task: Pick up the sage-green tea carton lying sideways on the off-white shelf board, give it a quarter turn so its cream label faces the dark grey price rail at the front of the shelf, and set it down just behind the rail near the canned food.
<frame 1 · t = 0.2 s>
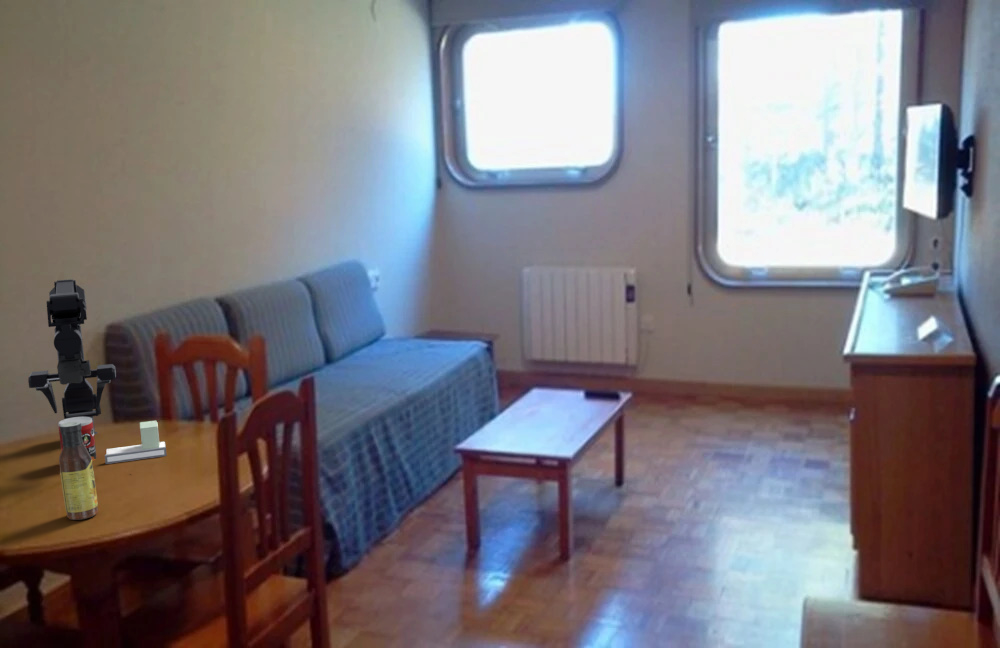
hand: (77, 410, 223), 14 cm above the table, tool pointing down, fingers open, 9 cm apart
sauce bottle: (82, 516, 195), on the table
shelf: (136, 456, 234), on the table
canned food: (80, 464, 230), on the table
tea carton: (150, 447, 238), point 1 cm above the table, touching shelf
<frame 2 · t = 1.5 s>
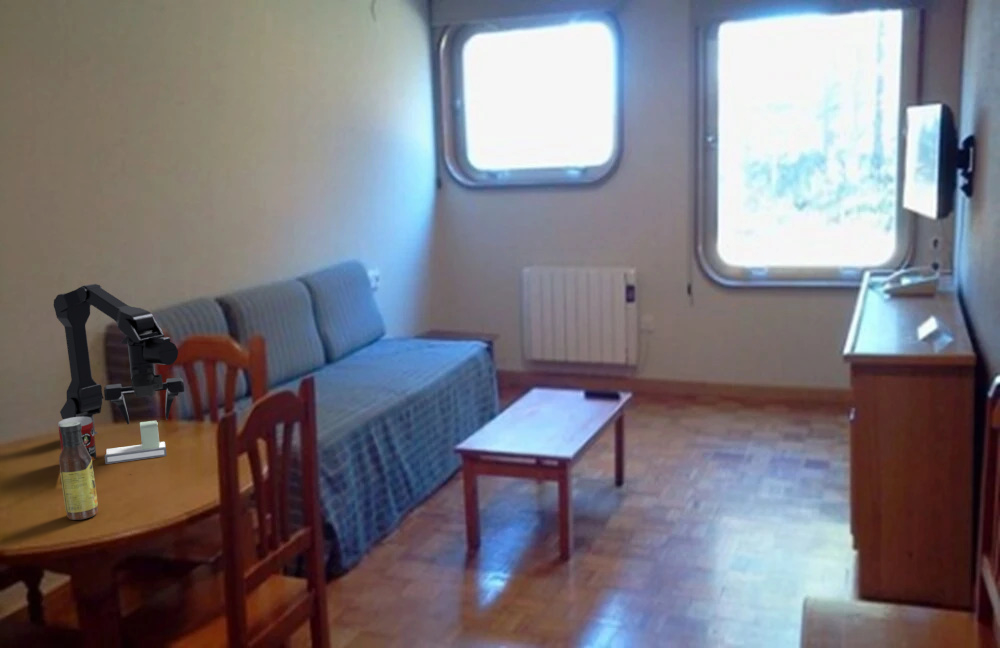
hand: (147, 421, 237), 8 cm above the table, tool pointing down, fingers open, 9 cm apart
nothing on the table moved.
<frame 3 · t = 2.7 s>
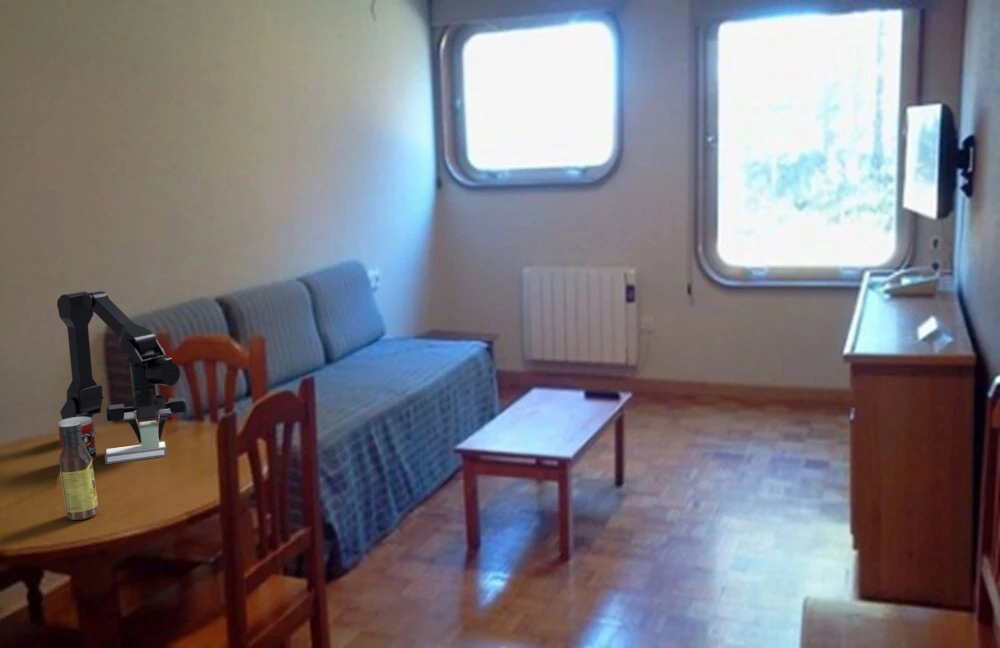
hand: (150, 441, 238), 3 cm above the table, tool pointing down, fingers closed on tea carton, 4 cm apart
tea carton: (150, 447, 238), point 1 cm above the table, touching gripper, shelf
everything else where it was.
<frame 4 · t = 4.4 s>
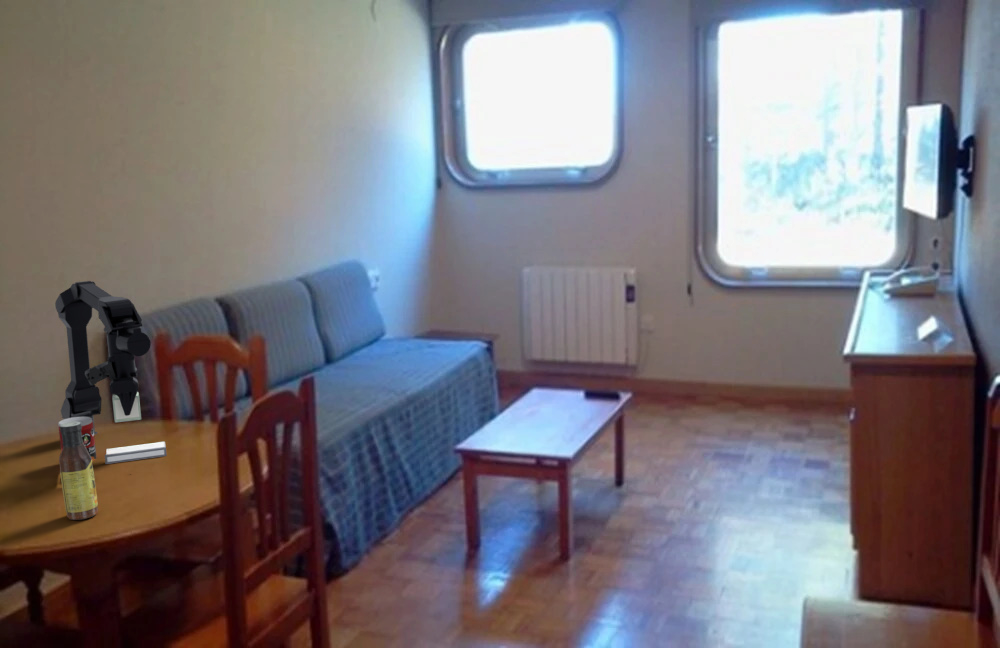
hand: (127, 413, 229), 12 cm above the table, tool pointing down, fingers closed on tea carton, 4 cm apart
tea carton: (128, 418, 229), point 10 cm above the table, touching gripper
everything else where it was.
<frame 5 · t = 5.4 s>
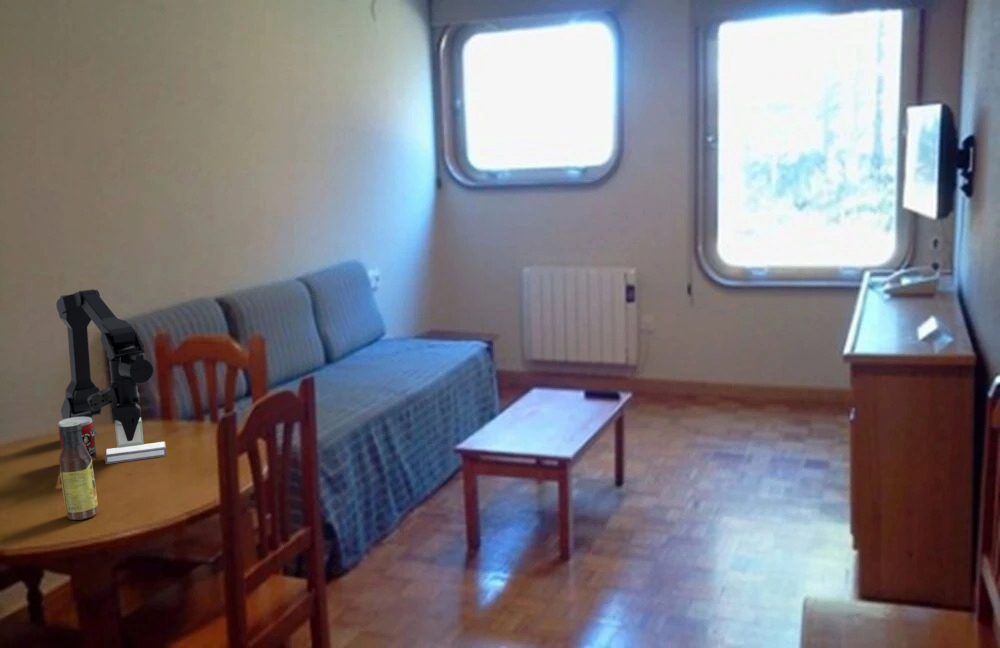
hand: (130, 438, 230), 6 cm above the table, tool pointing down, fingers closed on tea carton, 4 cm apart
tea carton: (130, 444, 231), point 4 cm above the table, touching gripper
everything else where it was.
when the fingers open (4 cm above the table, at t = 6.1 s): tea carton drops 1 cm, resting on shelf.
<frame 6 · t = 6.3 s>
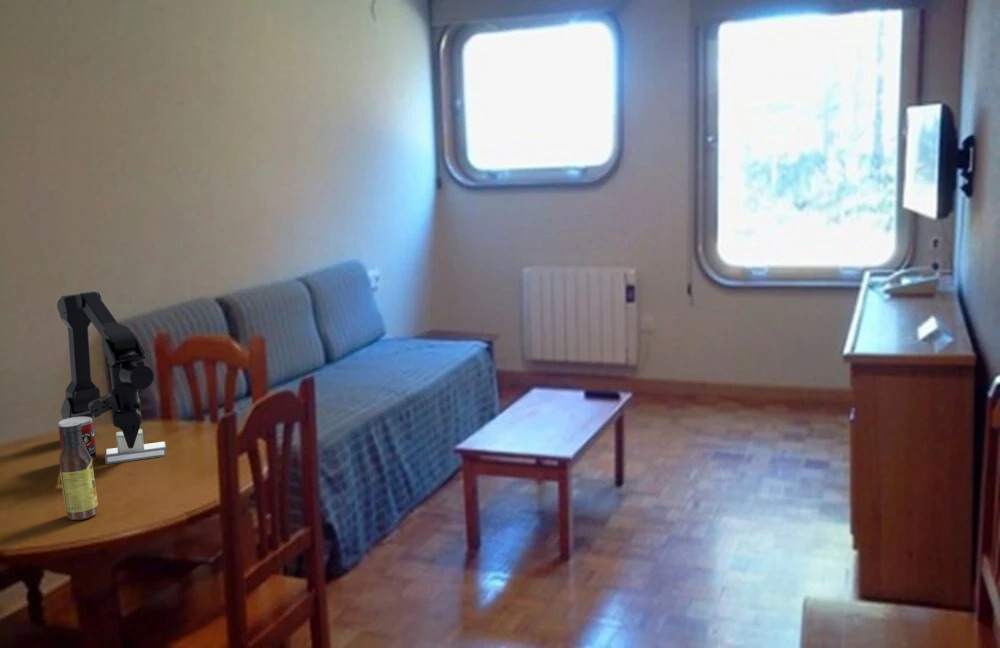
hand: (130, 444, 231), 4 cm above the table, tool pointing down, fingers open, 6 cm apart
tea carton: (131, 455, 231), point 1 cm above the table, touching shelf
everything else where it was.
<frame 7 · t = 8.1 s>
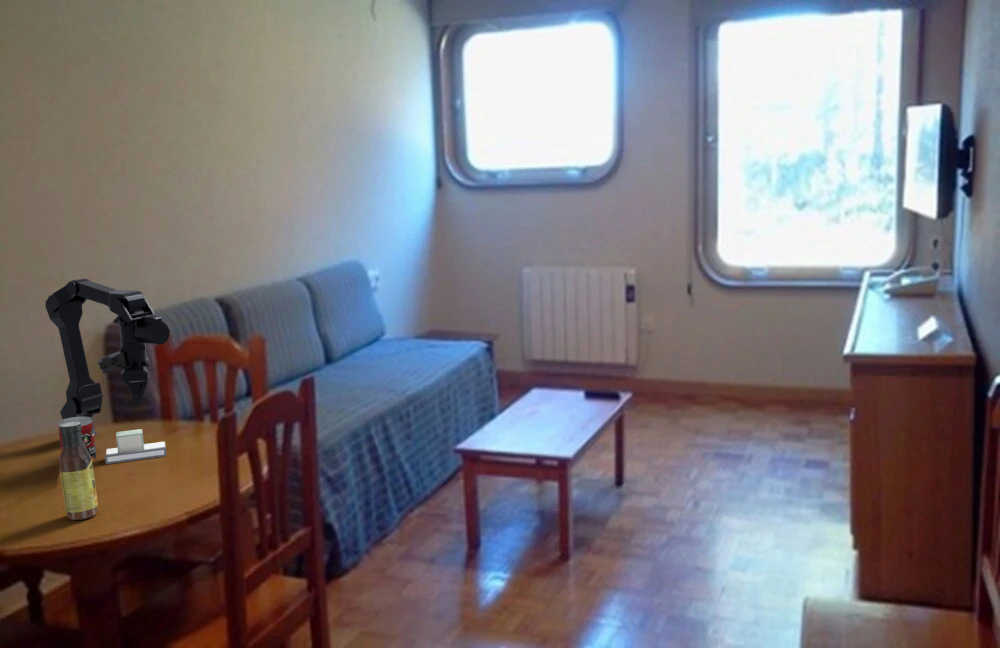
hand: (138, 401, 238), 13 cm above the table, tool pointing down, fingers open, 9 cm apart
nothing on the table moved.
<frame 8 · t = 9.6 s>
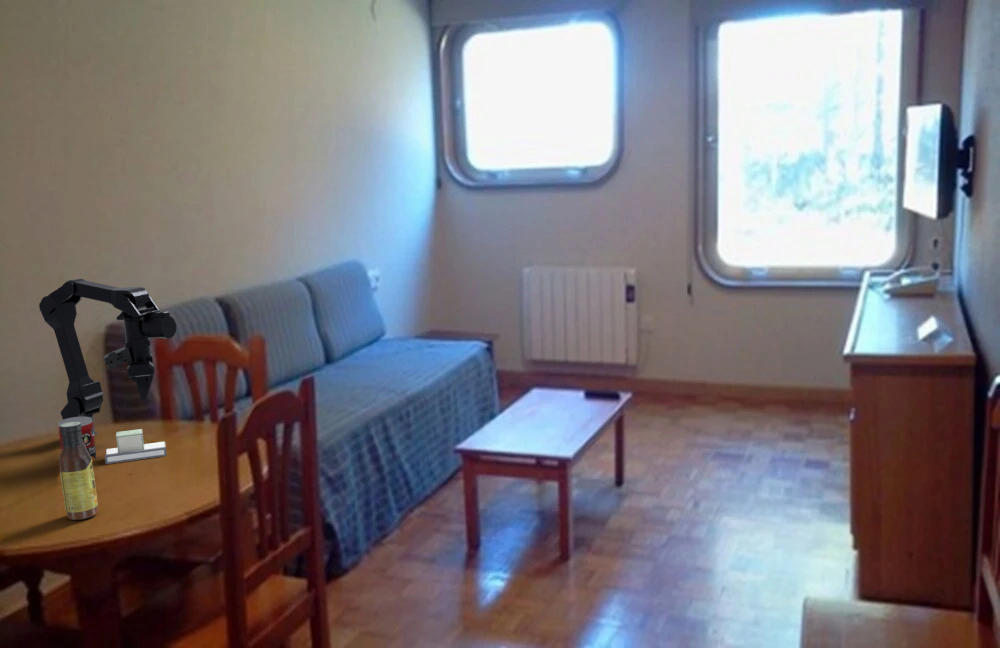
hand: (143, 396, 242), 13 cm above the table, tool pointing down, fingers open, 9 cm apart
nothing on the table moved.
at the end: tea carton 0.1 cm from the target spot, point 1.0 cm above the table; tea carton tilted 0°; the gripper is holding nothing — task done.
